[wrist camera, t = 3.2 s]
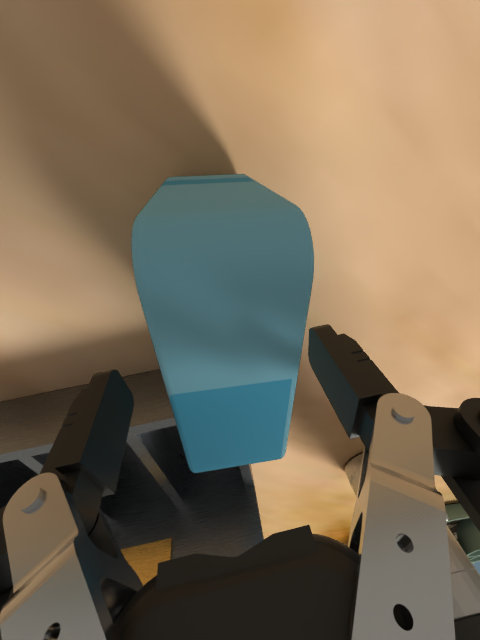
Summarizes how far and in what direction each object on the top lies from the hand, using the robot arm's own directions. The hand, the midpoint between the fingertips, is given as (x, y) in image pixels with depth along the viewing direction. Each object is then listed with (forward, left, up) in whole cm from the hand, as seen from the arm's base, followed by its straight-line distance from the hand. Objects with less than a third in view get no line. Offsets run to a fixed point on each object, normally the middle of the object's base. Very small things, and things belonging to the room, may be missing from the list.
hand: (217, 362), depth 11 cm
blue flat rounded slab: (-1, 0, -10) cm, 10 cm away
